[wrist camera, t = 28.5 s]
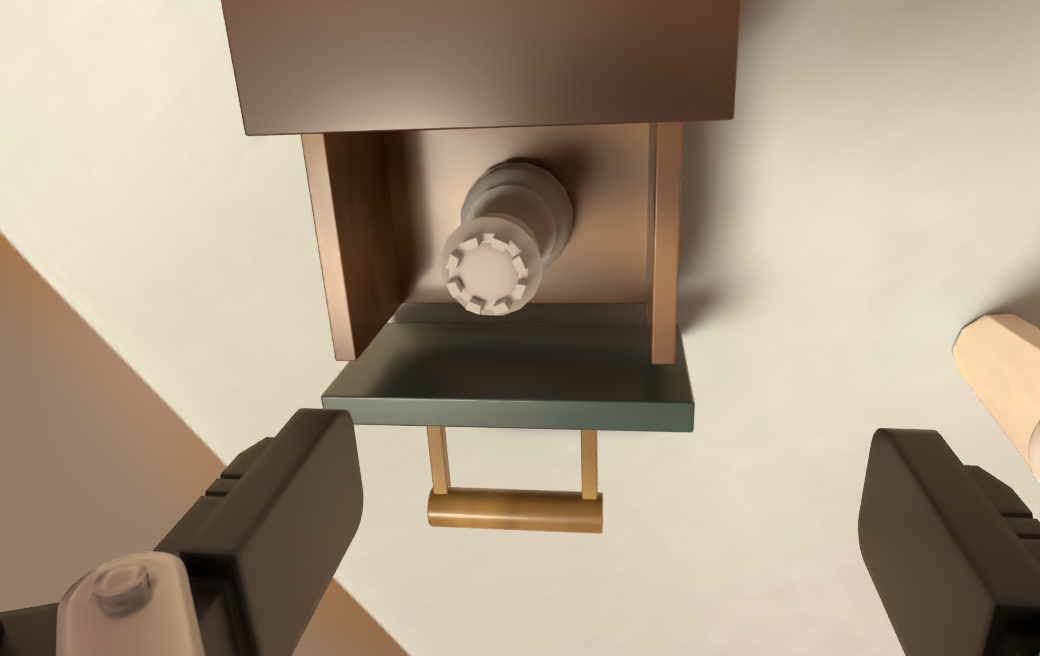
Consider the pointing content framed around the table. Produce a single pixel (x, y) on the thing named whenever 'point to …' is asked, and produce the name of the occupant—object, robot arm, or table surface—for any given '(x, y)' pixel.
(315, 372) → the table surface
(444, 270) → the rook chess piece
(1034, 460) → the milkshake
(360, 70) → the cabinet
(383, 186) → the drawer
